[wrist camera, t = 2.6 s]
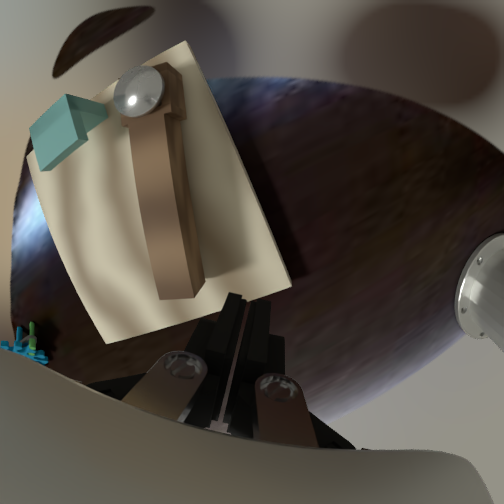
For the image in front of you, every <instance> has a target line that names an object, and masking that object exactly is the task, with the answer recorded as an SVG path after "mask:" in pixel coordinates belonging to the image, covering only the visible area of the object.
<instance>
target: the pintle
mask: <svg viewBox="0 0 504 504" xmlns="http://www.w3.org/2000/svg"><path fill="white" fill-rule="evenodd" d="M164 91H165V82H164V78H163V76H162V75H161V73H159V72H158V71H157V70H156V69H154V68H153V67H150V66H146V65H141V66H137V67H134V68H132V69H130V70H128V71H127V72H126V73H125V74H123V75H122V77H121V78H120V79H119V81H118V82H117V84H116V86H115V89H114V94H113V100H114V105H115V107H116V109H117V110H118V111H119V112H120V113H121V114H123V115H125V116H129V117H133V118H138V117H143V116H145V115H147V114H149V113H150V112H152V111H153V110H154V109H155V108H156V107H157V106H161V105H162V104H161V100H162V98H163V95H164Z"/></svg>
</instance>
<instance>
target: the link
mask: <svg viewBox="0 0 504 504" xmlns="http://www.w3.org/2000/svg"><path fill="white" fill-rule="evenodd" d="M152 67H153V68H154V69H156V70H157V71H158V72H159V73H161V75H162V76H163V78H164V82H165V91H164V95H163V98H162V100H161V104H162V105H161V106H157V107H156V108H155V109H154V110H153V111H152V112H150V113H149V114H147V115H145V116H143V117H138V118H133V117H129V116H125V115H123V114H121V113H120V114H121V125H122V127H127V128H129V138H130V146H131V155H132V163H133V170H134V177H135V184H136V190H137V196H138V202H139V208H140V214H141V219H142V224H143V230H144V235H145V240H146V244H147V249H148V254H149V258H150V263H151V267H152V271H153V276H154V280H155V284H156V288H157V292H158V296H159V300H173V299H191V298H195V297H196V295H197V294H198V292H199V291H200V289H201V288H202V287H203V285H204V284H205V282H206V280H205V275H204V270H203V265H202V259H201V254H200V249H199V243H198V237H197V232H196V226H195V220H194V214H193V208H192V202H191V195H190V189H189V182H188V176H187V169H186V162H185V155H184V147H183V140H182V132H181V124H180V121H182V120H186V119H187V115H186V107H185V98H184V89H183V80H182V74H180V73H179V72H178V71H177V70H176V69H175V68H174V67H172V66H171V65H170V64H169V63H168V62H164V63H161V64H158V65H155V66H152ZM119 79H120V78H119ZM119 79H118V80H119Z"/></svg>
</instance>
